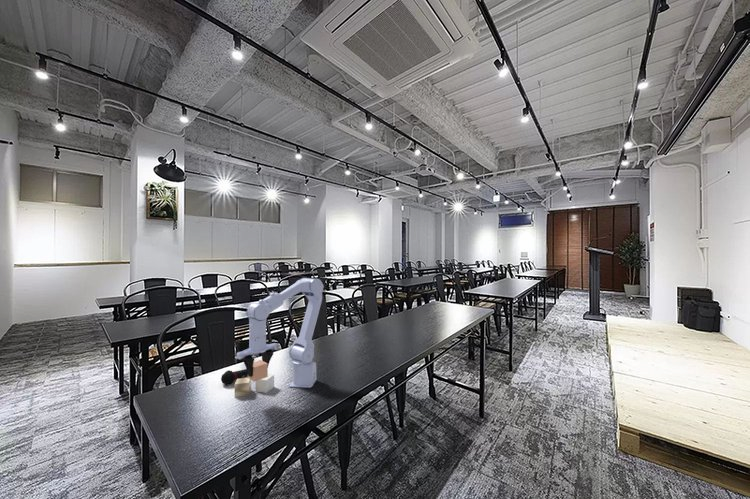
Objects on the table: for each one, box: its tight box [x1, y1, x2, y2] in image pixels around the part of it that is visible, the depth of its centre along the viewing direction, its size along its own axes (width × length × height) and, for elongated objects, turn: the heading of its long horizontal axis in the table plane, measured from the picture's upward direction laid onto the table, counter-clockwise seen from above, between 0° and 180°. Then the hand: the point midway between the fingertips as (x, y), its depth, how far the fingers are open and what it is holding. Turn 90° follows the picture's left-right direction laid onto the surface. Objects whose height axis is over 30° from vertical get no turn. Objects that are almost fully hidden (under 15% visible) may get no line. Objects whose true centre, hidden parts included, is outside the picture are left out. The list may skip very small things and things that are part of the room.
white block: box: [255, 373, 275, 394], centre depth 115 cm, size 5×5×5 cm
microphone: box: [220, 368, 248, 385], centre depth 127 cm, size 6×6×20 cm
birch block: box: [234, 377, 252, 398], centre depth 111 cm, size 5×5×5 cm
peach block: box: [247, 359, 269, 383], centre depth 105 cm, size 5×5×5 cm
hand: (257, 373), depth 105 cm, fingers closed on peach block, 5 cm apart
